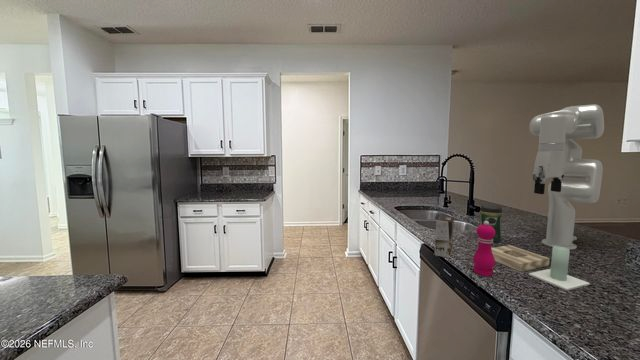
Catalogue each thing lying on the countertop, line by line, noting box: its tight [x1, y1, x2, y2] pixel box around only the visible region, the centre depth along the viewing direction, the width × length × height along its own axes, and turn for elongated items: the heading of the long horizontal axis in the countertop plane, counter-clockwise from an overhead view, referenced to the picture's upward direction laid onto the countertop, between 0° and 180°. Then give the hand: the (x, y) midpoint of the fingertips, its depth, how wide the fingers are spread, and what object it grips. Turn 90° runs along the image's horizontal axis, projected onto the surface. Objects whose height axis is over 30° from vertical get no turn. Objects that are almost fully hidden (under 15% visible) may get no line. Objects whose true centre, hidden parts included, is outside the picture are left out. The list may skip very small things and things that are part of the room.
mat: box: [528, 268, 591, 292], centre depth 96 cm, size 12×12×1 cm
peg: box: [550, 246, 570, 281], centre depth 95 cm, size 4×4×11 cm
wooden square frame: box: [491, 244, 550, 272], centre depth 112 cm, size 16×16×3 cm
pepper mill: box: [472, 221, 496, 277], centre depth 101 cm, size 7×7×20 cm
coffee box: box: [434, 215, 455, 259], centre depth 120 cm, size 9×6×16 cm
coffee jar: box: [479, 203, 503, 243], centre depth 137 cm, size 10×8×19 cm
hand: (547, 192), depth 104 cm, fingers open, 9 cm apart
